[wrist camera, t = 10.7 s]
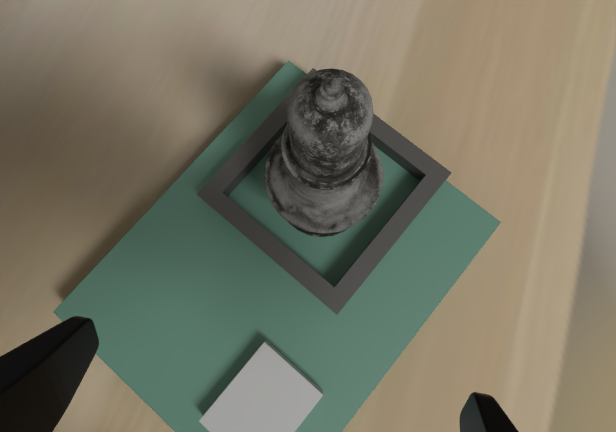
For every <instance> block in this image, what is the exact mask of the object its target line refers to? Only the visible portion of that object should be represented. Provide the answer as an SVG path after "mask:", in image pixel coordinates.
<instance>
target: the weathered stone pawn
mask: <svg viewBox="0 0 616 432" xmlns="http://www.w3.org/2000/svg"><path fill="white" fill-rule="evenodd" d="M373 114H374V113H373V105H372V98H371V96H370V94H369V91H368V89H367V88H366V86H365V85H364V84H363V83H362V81H361V80H359V79H358V78H357V77H355V76H354V75H353V74H351V73H348V72H346V71H343V70H338V69H323V70H318V71H316V72H313V73H310V74H309V75H307V76H306V77H304V78H303V79H301V81H300V82H299V83H298V84H297V85H296V86H295V87H294V89H293V91H292V93H291V95H290V97H289V100H288V105H287V110H286V116H287V126H286V128H285V130H284V132H283V134H282V135H281V136H280V137H279V138H278V140H277V141H276V142H275V143H274V144H273V146H272V148H271V150H270V152H269V154H268V156H267V159H266V164H265V169H264V180H265V189H266V191H267V194H268V197H269V199H270V202H271V203H272V205H273V206H274V208H275V209H276V210H277V212H278V213H279V215H280V216H282V217H283V218H284V219H285V220H287V221H288V223H289V224H291V225H292V226H293V227H294V228H296V229H297V230H298V231H300V232H303V233H305V234H307V235H310V236H317V237H327V236H334V235H337V234H339V233H342V232H344V231H346V230H347V229H348V228H350V227H353V226H354V225H356V224H357V223H358V222H360V221H361V220H363V219H364V218H365V217H366V216H367V215H368V214H369V213H370V211H371V210H372V209H373V208H374V206H375V205H376V203H377V201H378V198H379V196H380V194H381V191H382V185H383V177H384V174H383V167H382V160H381V158H380V156H379V154H378V151H377V149H376V147H375V146H374V144H373V143H372V140H371V134H370V128H371V126H372V121H373Z"/></svg>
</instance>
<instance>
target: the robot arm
mask: <svg viewBox="0 0 616 432" xmlns="http://www.w3.org/2000/svg"><path fill="white" fill-rule="evenodd" d="M98 347H99V338H98V335H97V331H96V328H95V325H94V322H93V320H92V319H90V318H86V317H81V316H73V317H71V318H69V319H67V320H65V321H63V322H61V323H60V324H58V325H56V326H54V327H53V328H51V329H49V330H47V331H45V332H44V333H42V334H40V335H38V336H36V337H35V338H33V339H31V340H29V341H27V342H26V343H24V344H22V345H20V346H19V347H17V348H15V349H13V350H11V351H10V352H8V353H6V354H4V355H2V356H1V357H0V432H53V430H54V428H55V427H56V425H57V424H58V422H59V421H60V419H61V417H62V416H63V414H64V413H65V411H66V409H67V407H68V405H69V404H70V402H71V400H72V398H73V396H74V394H75V392H76V390H77V388H78V386H79V385H80V383H81V381H82V379H83V377H84V375H85V373H86V371H87V369H88V367H89V365H90V363H91V361H92V360H93V358H94V356H95V354H96V352H97V350H98ZM460 432H518V430H517V429H516V428H515V426H514V425H513V423H512V422H511V421H510V419H509V418H508V417H507V415H506V414H505V412H504V411H503V410H502V408H501V407H500V405H499V404H498V403H497V401H496V400H495V399H494V398H493V397H492V396H490V395H487V394H482V393H477V392H473V393H472V394H471V395H470V396H469V398H468V400H467V402H466V404H465V406H464V407H463V409H462V411H461V414H460Z"/></svg>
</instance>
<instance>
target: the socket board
mask: <svg viewBox="0 0 616 432" xmlns="http://www.w3.org/2000/svg"><path fill="white" fill-rule="evenodd" d="M313 72H316V70H315V69H314V68H313V69H312V70H311V71H310V72H309V73H308V74H306V73H304V72H303V71H302V70H300V69H299V68H298V67H297V66H295V65H294V64H293V63H291V62H290V61H288V62H287V63H286V64H285V65H284V66H283V67H282V68H281V69H280V70H279V71H278V72H277V73H276V74H275V75H274V77H273V78H272V79H271V80H270V81H269V82H268V83H267V84H266V85H265V86H264V87H263V88H262V89H261V90H260V91H259V93H258V94H257V95H256V96H255V97H254V98H253V99H252V100H251V101H250V102H249V103H248V104H247V105H246V106H245V107H244V109H243V110H242V111H241V112H240V113H239V114H238V115H237V116H236V117H235V118H234V119H233V120H232V121H231V122H230V124H229V125H228V126H227V127H226V128H225V129H224V130H223V131H222V132H221V133H220V134H219V135H218V136H217V137H216V138H215V140H214V141H213V142H212V143H211V144H210V145H209V146H208V147H207V148H206V149H205V150H204V151H203V152H202V153H201V154H200V156H199V157H198V158H197V159H196V160H195V161H194V162H193V163H192V164H191V165H190V166H189V167H188V168H187V169H186V170H185V172H184V173H183V174H182V175H181V176H180V177H179V178H178V179H177V180H176V181H175V182H174V183H173V184H172V185H171V187H170V188H169V189H168V190H167V191H166V192H165V193H164V194H163V195H162V196H161V197H160V198H159V199H158V200H157V201H156V203H155V204H154V205H153V206H152V207H151V208H150V209H149V210H148V211H147V212H146V213H145V214H144V215H143V216H142V217H141V219H140V220H139V221H138V222H137V223H136V224H135V225H134V226H133V227H132V228H131V229H130V230H129V231H128V232H127V233H126V235H125V236H124V237H123V238H122V239H121V240H120V241H119V242H118V243H117V244H116V245H115V246H114V247H113V248H112V250H111V251H110V252H109V253H108V254H107V255H106V256H105V257H104V258H103V259H102V260H101V261H100V262H99V263H98V264H97V266H96V267H95V268H94V269H93V270H92V271H91V272H90V273H89V274H88V275H87V276H86V277H85V278H84V279H83V280H82V282H81V283H80V284H79V285H78V286H77V287H76V288H75V289H74V290H73V291H72V292H71V293H70V294H69V295H68V296H67V298H66V299H65V300H64V301H63V302H62V303H61V304H60V305H59V306H58V307H57V308H56V309H55V310H54V311H53V312H54V313H55V314H56V315H57V316H58V317H59V318H60V319H61V320H62V321H65V320H67V319H69V318H71V317H73V316H81V317H86V318H90V319H92V320H93V322H94V325H95V328H96V331H97V335H98V338H99V347H98V350H97V352H96V354H97V355H98V356H99V357H100V358H101V359H102V360H103V361H104V362H105V363H106V364H107V365H108V366H109V367H110V368H111V369H112V370H113V371H114V372H115V373H116V374H117V375H118V376H119V377H120V378H121V379H122V380H123V381H124V382H125V383H126V384H127V385H128V386H129V387H130V388H131V389H132V390H133V391H134V392H135V393H136V394H137V395H138V396H139V397H140V398H141V399H142V400H143V401H144V402H145V403H146V404H148V405H149V406H150V407H151V408H152V409H153V410H154V411H155V412H156V413H157V414H158V415H159V416H160V417H161V418H162V419H163V420H164V421H165V422H166V423H167V424H168V425H169V426H170V427H171V428H172V429H173V430H174V431H175V432H342V431H343V429H344V428H345V427H346V425H347V424H348V423H349V421H350V420H351V419H352V417H353V416H354V415H355V413H356V412H357V411H358V410H359V408H360V407H361V406H362V404H363V403H364V402H365V400H366V399H367V398H368V396H369V395H370V394H371V392H372V391H373V390H374V388H375V387H376V386H377V385H378V383H379V382H380V381H381V379H382V378H383V377H384V375H385V374H386V373H387V371H388V370H389V369H390V367H391V366H392V365H393V363H394V362H395V361H396V360H397V358H398V357H399V356H400V354H401V353H402V352H403V350H404V349H405V348H406V346H407V345H408V344H409V342H410V341H411V340H412V339H413V337H414V336H415V335H416V333H417V332H418V331H419V329H420V328H421V327H422V325H423V324H424V323H425V321H426V320H427V319H428V317H429V316H430V315H431V314H432V312H433V311H434V310H435V308H436V307H437V306H438V304H439V303H440V302H441V300H442V299H443V298H444V296H445V295H446V294H447V293H448V291H449V290H450V289H451V287H452V286H453V285H454V283H455V282H456V281H457V279H458V278H459V277H460V275H461V274H462V273H463V271H464V270H465V269H466V268H467V266H468V265H469V264H470V262H471V261H472V260H473V258H474V257H475V256H476V254H477V253H478V252H479V250H480V249H481V248H482V247H483V245H484V244H485V243H486V241H487V240H488V239H489V237H490V236H491V235H492V233H493V232H494V231H495V229H496V228H497V227H498V225H499V224H500V223H501V222H500V221H499V220H497V219H496V218H495V217H493V216H492V215H491V214H489V213H488V212H487V211H486V210H484V209H483V208H482V207H480V206H479V205H478V204H476V203H475V202H474V201H472V200H471V199H470V198H468V197H467V196H466V195H465V194H463V193H462V192H461V191H459V190H458V189H457V188H455V187H454V186H453V185H451V184H450V183H449V182H447V181H446V179H447V178H448V177H449V175H450V174H451V172H450V171H449V170H447V169H446V168H445V167H443V166H442V165H441V164H439V163H438V162H437V161H435V160H434V159H433V158H431V157H430V156H429V155H427V154H426V153H425V152H423V151H422V150H421V149H419V148H418V147H417V146H416V145H414V144H413V143H412V142H410V141H409V140H408V139H406V138H405V137H404V136H402V135H401V134H400V133H398V132H397V131H396V130H394V129H393V128H392V127H390V126H389V125H388V124H386V123H385V122H384V121H382V120H381V119H380V118H379V117H377V116H376V115H375V114H373V121H372V126H371V128H370V134H371V140H372V143H373V144H374V146H375V147H376V149H377V151H378V154H379V156H380V158H381V160H382V167H383V174H384V177H383V185H382V191H381V194H380V196H379V198H378V201H377V203H376V205H375V206H374V208H373V209H372V210H371V211H370V213H369V214H368V215H367V216H366V217H365V218H364V219H363V220H361V221H360V222H358V223H357V224H356V225H354V226H353V227H350V228H348V229H347V230H346V231H344V232H342V233H339V234H337V235H334V236H327V237H317V236H310V235H307V234H305V233H303V232H300V231H298V230H297V229H296V228H294V227H293V226H292V225H291V224H289V223H288V221H287V220H285V219H284V218H283V217H282V216H280V215H279V213H278V212H277V210H276V209H275V208H274V206H273V205H272V203H271V202H270V199H269V197H268V194H267V191H266V189H265V180H264V169H265V164H266V159H267V156H268V154H269V152H270V150H271V148H272V146H273V144H274V143H275V142H276V141H277V140H278V138H279V137H280V136H281V135H282V134H283V132H284V130H285V128H286V126H287V116H286V110H287V105H288V100H289V97H290V95H291V93H292V91H293V89H294V87H295V86H296V85H297V84H298V83H299V82H300V81H301V79H303V78H304V77H306V76H307V75H309V74H310V73H313Z"/></svg>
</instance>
